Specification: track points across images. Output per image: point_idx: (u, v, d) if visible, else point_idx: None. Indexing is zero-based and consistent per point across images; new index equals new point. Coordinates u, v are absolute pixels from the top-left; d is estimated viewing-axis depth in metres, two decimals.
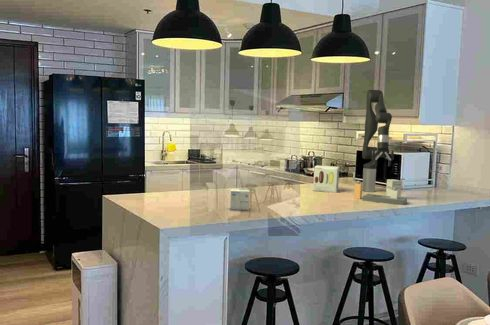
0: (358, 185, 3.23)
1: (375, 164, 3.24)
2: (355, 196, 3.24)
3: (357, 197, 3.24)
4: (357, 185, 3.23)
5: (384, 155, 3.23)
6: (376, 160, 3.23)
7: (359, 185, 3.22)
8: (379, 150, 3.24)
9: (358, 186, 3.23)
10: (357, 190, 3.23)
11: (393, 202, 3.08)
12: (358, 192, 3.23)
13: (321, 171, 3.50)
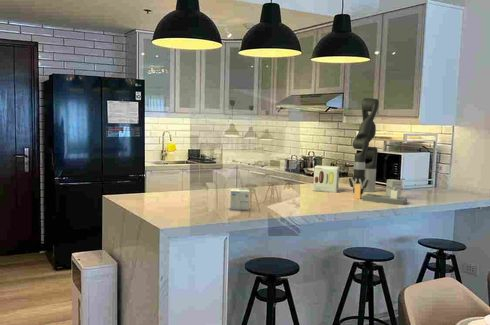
0: (358, 185, 3.23)
1: (353, 192, 3.26)
2: (355, 196, 3.24)
3: (357, 197, 3.24)
4: (357, 185, 3.23)
5: (358, 181, 3.23)
6: (354, 188, 3.25)
7: (359, 185, 3.22)
8: (354, 176, 3.25)
9: (358, 185, 3.23)
10: (357, 190, 3.23)
11: (393, 202, 3.08)
12: (358, 192, 3.23)
13: (321, 171, 3.50)
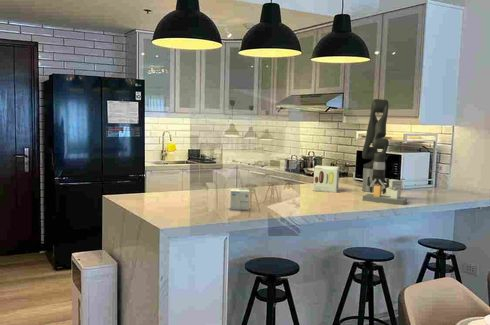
0: (377, 187, 3.16)
1: (370, 191, 3.20)
2: None
3: None
4: (376, 187, 3.17)
5: (378, 182, 3.17)
6: (371, 187, 3.19)
7: (378, 187, 3.16)
8: (374, 177, 3.18)
9: (377, 187, 3.16)
10: (376, 192, 3.17)
11: (393, 202, 3.08)
12: (377, 194, 3.17)
13: (321, 171, 3.50)
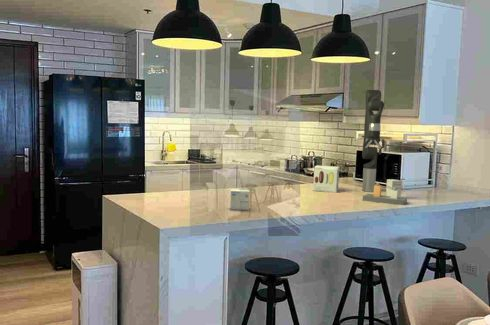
0: (377, 187, 3.16)
1: (365, 152, 3.30)
2: None
3: None
4: (376, 187, 3.17)
5: (374, 143, 3.27)
6: (366, 148, 3.29)
7: (378, 187, 3.16)
8: (369, 138, 3.28)
9: (377, 187, 3.16)
10: (376, 192, 3.17)
11: (393, 202, 3.08)
12: (377, 194, 3.17)
13: (321, 171, 3.50)
